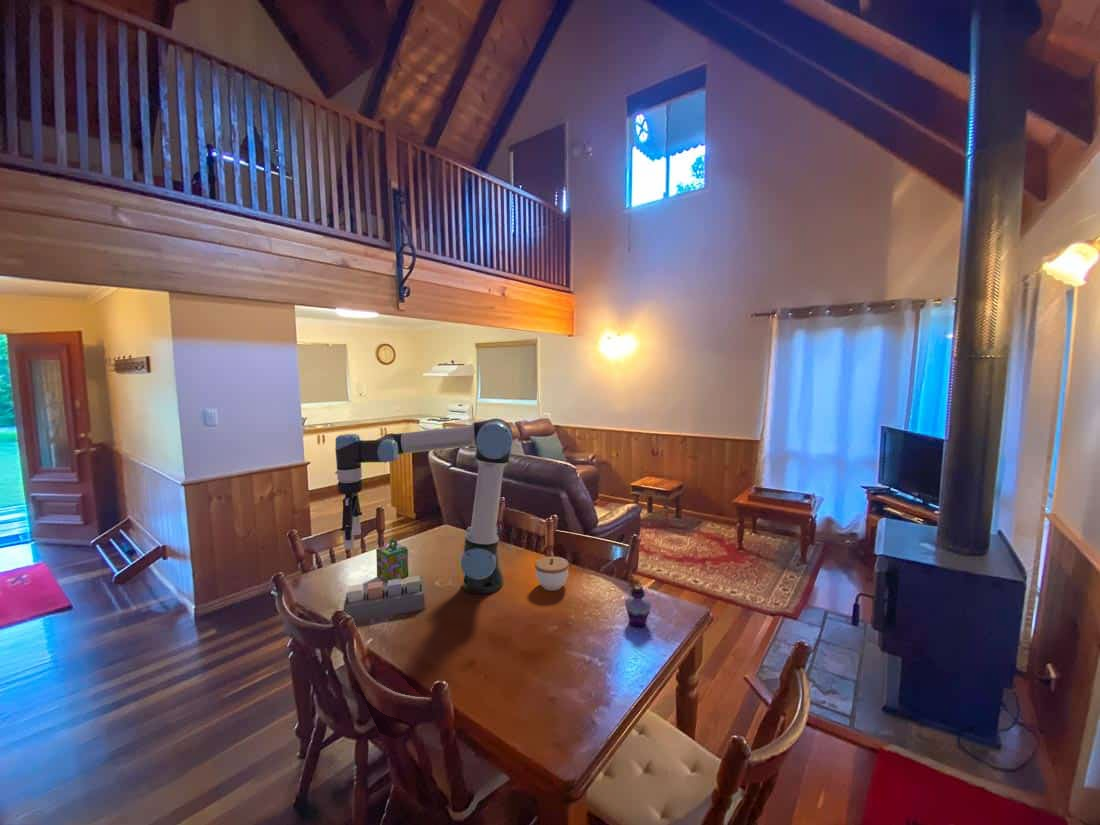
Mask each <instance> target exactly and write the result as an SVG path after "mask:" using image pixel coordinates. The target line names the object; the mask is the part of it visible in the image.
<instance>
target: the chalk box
mask: <svg viewBox="0 0 1100 825" xmlns="http://www.w3.org/2000/svg"><path fill="white" fill-rule="evenodd" d="M409 575H410V574H409V549H408V547H406V546H404V545H401V544H400V543H398V540H395V539H393V538H390V540H389V544H388V545H386V546H383V547H379V548H376V578H377V577H378V579H380V580H381V581H384V582H385V583H387V584H388V580H394V579H401V580H402V579H403V578H407V577H408V576H409ZM409 577H410V576H409Z"/></svg>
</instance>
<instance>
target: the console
mask: <svg viewBox="0 0 1100 825" xmlns="http://www.w3.org/2000/svg"><path fill="white" fill-rule="evenodd" d="M401 589H402V595H395V596H389V597H388V587H387V586H383V598H377V599H370V600H369V599H368V589H363V591H364V601H358V602H351V603H348V592H346V595H345V600H344V603H343V613H344V612H345V613H347V614H348V615H350V616H351V617H352V618H353V619H354V621H353V622H359V621H363V620H364V619H365V620H369V618H370V619H375V618H381V617H387V616H394V615H398V614H399V615H400V614H405V613H409V612H415V611H416V612H417V611H421V610H422V611H423V610H425V609H426V608H425V607H426V604H425V587H424V581H422V580H420V592H414V593H408V594H407V583H401ZM365 620H364V621H365Z"/></svg>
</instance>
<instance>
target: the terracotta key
mask: <svg viewBox="0 0 1100 825" xmlns="http://www.w3.org/2000/svg"><path fill="white" fill-rule="evenodd" d="M383 587H384V586H383V580H381V581H375V582H369V583H368V587H367V590H368V599H369V600H370V599H377V598H383Z"/></svg>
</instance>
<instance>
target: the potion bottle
mask: <svg viewBox="0 0 1100 825" xmlns="http://www.w3.org/2000/svg"><path fill="white" fill-rule="evenodd" d="M630 595H631V596H629V597H627V598H626V599H624V604H625V609H626V611H627V612H626V613H627V614H628V615H627V616H628V620H629V621H628V623H629V625H630V626H632V627H634V628H639V629H641V628H644V627H646V626H647V620H648V618H649V617H648V616H649V615H650V612H651V608H652V603H651V601H650V599H647V598H645V595H646V593H645V590H644V587H643V586H642V585H633V586H632V589H631V590H630Z"/></svg>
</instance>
